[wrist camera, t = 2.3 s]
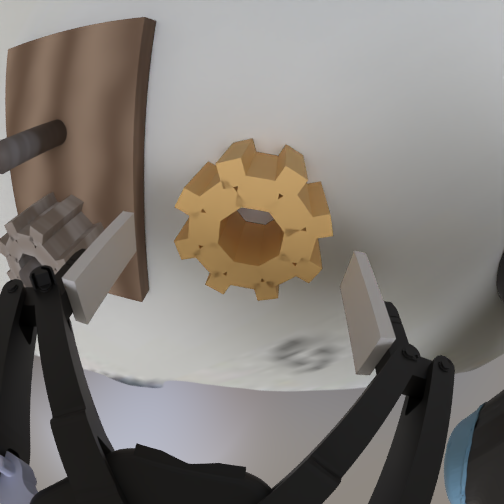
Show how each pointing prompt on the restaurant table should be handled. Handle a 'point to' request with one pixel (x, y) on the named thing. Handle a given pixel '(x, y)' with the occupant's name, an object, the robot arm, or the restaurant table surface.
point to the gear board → (77, 145)
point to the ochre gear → (252, 234)
